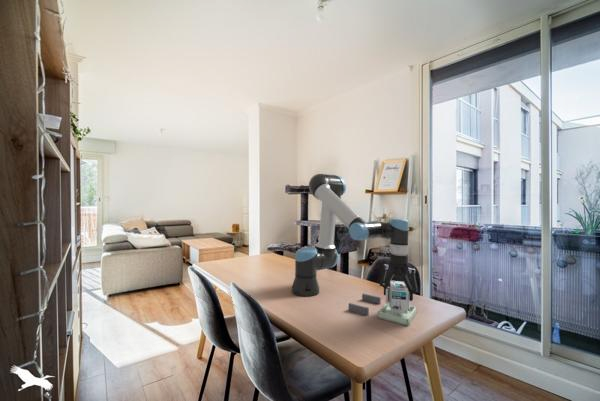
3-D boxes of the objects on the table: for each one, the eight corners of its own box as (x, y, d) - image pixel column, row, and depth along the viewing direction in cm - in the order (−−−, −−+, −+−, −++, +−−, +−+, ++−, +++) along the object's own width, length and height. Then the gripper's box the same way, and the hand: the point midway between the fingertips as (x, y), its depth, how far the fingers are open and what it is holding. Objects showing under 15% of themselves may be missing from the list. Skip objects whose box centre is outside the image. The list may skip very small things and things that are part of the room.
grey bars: (348, 310, 122) (348, 303, 122) (363, 299, 136) (363, 293, 136) (367, 315, 117) (367, 308, 117) (380, 303, 131) (380, 297, 131)
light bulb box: (407, 314, 112) (408, 288, 112) (391, 312, 113) (391, 287, 113) (403, 304, 122) (404, 281, 122) (388, 303, 124) (389, 279, 124)
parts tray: (377, 317, 115) (377, 311, 115) (389, 305, 128) (389, 300, 128) (408, 326, 107) (408, 319, 108) (417, 312, 121) (417, 306, 121)
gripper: (372, 252, 121) (371, 302, 121) (423, 258, 109) (422, 314, 109) (378, 249, 127) (377, 297, 127) (426, 255, 115) (425, 308, 115)
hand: (397, 305), depth 118 cm, fingers closed on light bulb box, 8 cm apart
